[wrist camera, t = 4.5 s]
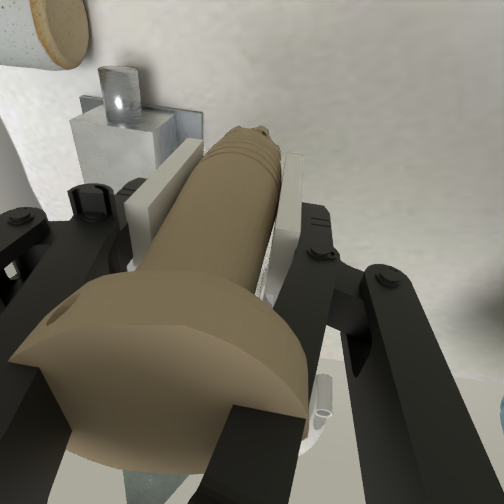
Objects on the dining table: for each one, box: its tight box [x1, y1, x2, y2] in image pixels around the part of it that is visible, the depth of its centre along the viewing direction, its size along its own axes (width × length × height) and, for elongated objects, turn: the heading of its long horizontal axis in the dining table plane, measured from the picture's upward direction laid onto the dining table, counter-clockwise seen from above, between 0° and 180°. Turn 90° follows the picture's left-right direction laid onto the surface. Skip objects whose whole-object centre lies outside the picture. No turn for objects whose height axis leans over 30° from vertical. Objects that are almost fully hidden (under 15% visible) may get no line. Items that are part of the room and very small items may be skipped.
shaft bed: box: [69, 66, 203, 272], centre depth 35 cm, size 12×28×7 cm, turn 174°
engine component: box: [259, 268, 332, 456], centre depth 35 cm, size 11×20×10 cm
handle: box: [8, 126, 309, 475], centre depth 12 cm, size 5×6×15 cm
